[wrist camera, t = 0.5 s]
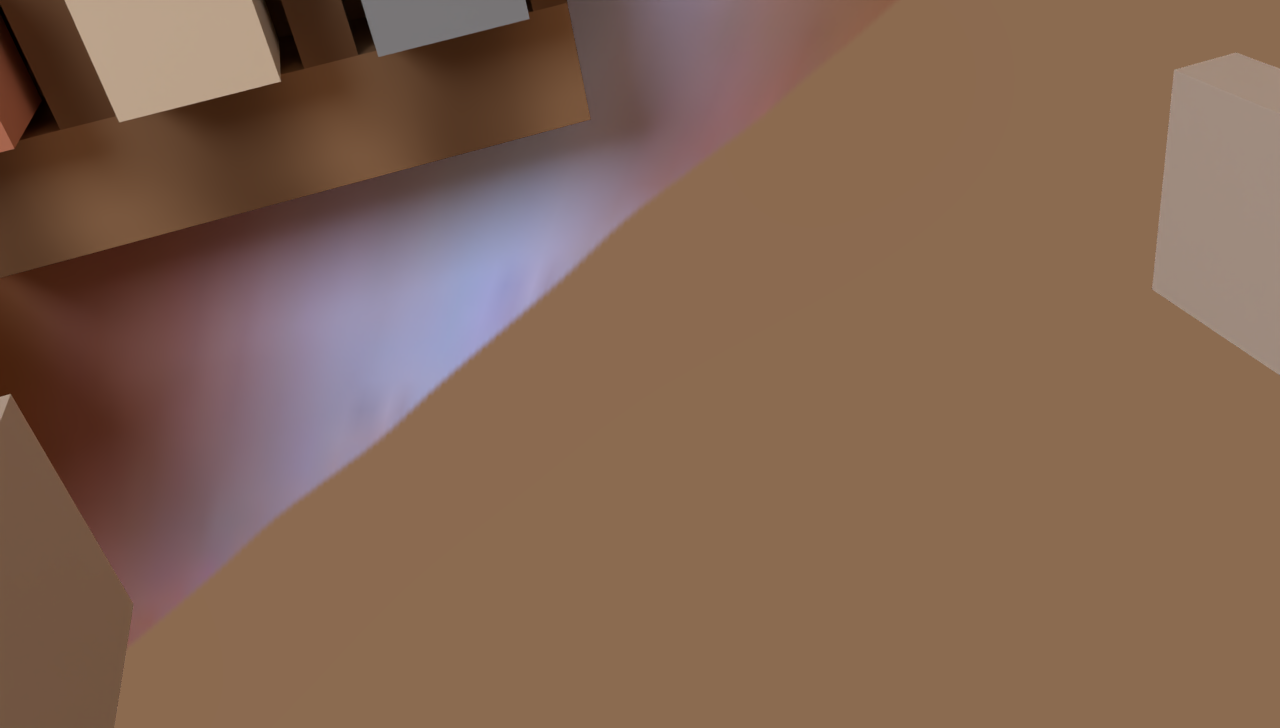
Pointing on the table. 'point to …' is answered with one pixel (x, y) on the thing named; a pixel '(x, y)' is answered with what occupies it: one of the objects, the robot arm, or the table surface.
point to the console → (264, 124)
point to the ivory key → (176, 50)
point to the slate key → (435, 20)
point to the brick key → (14, 92)
